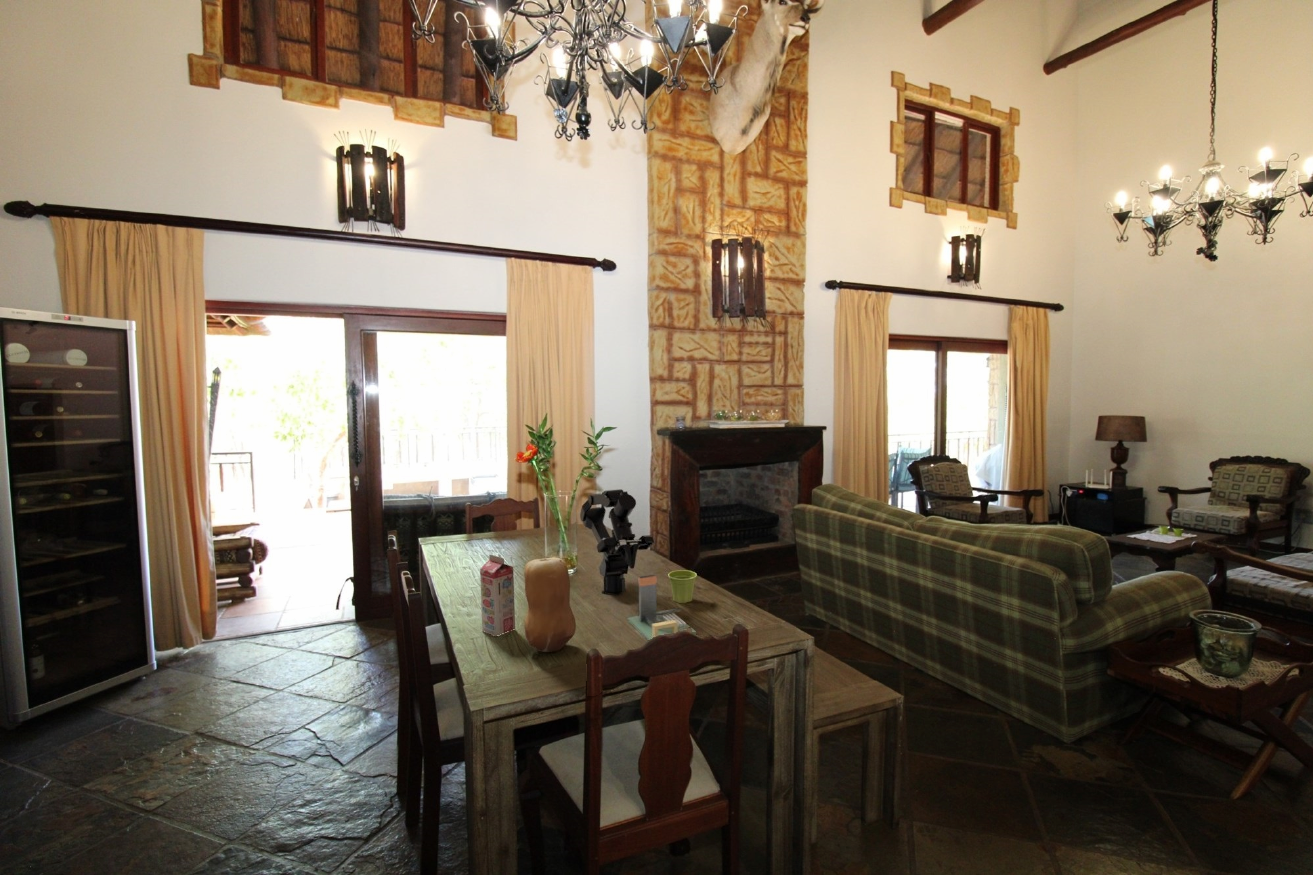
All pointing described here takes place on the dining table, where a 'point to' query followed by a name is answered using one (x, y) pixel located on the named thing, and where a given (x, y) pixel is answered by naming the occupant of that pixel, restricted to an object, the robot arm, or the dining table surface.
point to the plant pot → (682, 585)
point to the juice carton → (497, 596)
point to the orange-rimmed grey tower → (649, 600)
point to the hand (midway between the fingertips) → (632, 568)
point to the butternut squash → (548, 604)
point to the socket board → (649, 629)
